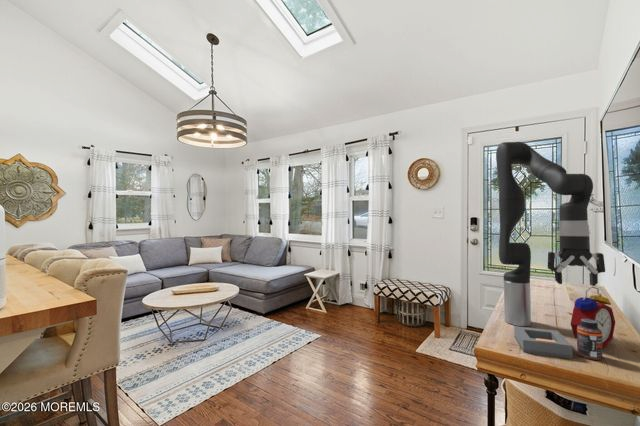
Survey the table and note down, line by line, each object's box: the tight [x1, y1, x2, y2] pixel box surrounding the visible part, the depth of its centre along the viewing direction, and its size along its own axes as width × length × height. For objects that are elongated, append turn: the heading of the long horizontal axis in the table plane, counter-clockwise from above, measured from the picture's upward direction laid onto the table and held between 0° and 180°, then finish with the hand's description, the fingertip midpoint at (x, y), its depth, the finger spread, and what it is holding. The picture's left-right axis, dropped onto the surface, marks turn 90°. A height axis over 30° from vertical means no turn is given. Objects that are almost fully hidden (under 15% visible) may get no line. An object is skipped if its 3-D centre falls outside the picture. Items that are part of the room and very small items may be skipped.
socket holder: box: [513, 325, 574, 359], centre depth 102 cm, size 13×13×4 cm
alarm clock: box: [566, 285, 616, 349], centre depth 104 cm, size 15×9×20 cm, turn 114°
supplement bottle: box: [576, 319, 604, 361], centre depth 95 cm, size 6×6×11 cm
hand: (575, 284), depth 97 cm, fingers open, 8 cm apart
